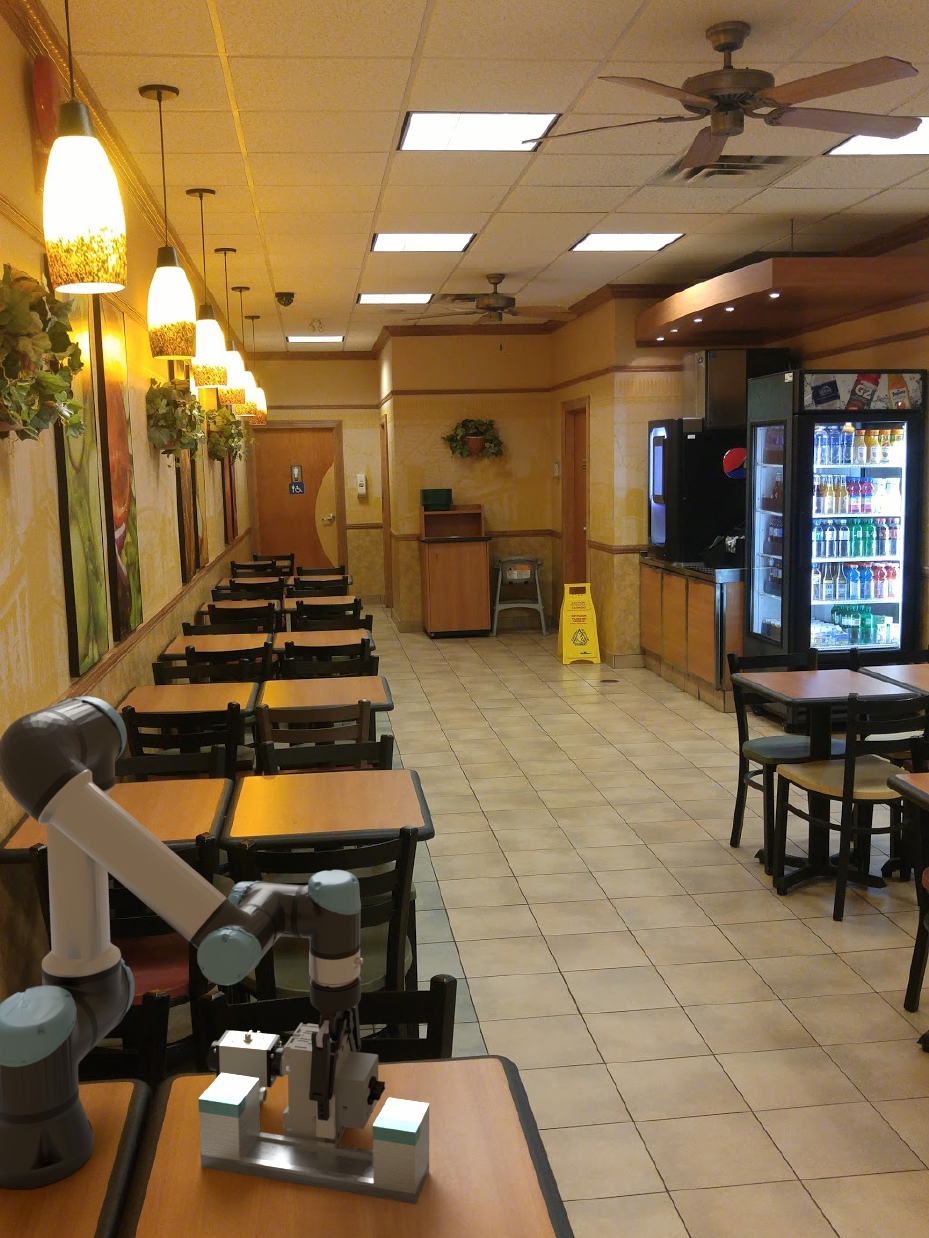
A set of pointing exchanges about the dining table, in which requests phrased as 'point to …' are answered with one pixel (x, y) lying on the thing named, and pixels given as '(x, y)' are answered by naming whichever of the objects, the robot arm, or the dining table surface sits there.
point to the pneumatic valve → (248, 1057)
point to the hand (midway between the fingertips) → (336, 1118)
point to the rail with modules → (314, 1146)
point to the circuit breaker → (351, 1087)
